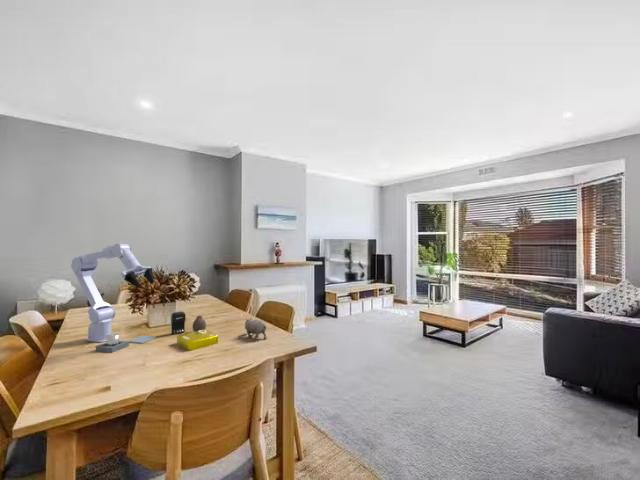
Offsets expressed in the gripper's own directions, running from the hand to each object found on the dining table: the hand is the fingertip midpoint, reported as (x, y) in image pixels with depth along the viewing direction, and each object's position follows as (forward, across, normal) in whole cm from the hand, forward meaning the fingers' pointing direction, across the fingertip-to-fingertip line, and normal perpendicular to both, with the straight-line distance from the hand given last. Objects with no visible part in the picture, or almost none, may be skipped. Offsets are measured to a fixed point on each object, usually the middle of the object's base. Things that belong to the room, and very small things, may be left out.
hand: (146, 284), depth 146 cm
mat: (+16, +2, +26) cm, 30 cm away
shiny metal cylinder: (+14, -12, +26) cm, 32 cm away
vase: (+29, +23, +15) cm, 40 cm away
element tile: (+37, +8, +5) cm, 38 cm away
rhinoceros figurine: (+51, +28, -8) cm, 58 cm away
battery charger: (+22, +17, +21) cm, 35 cm away
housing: (+14, -12, +26) cm, 32 cm away
